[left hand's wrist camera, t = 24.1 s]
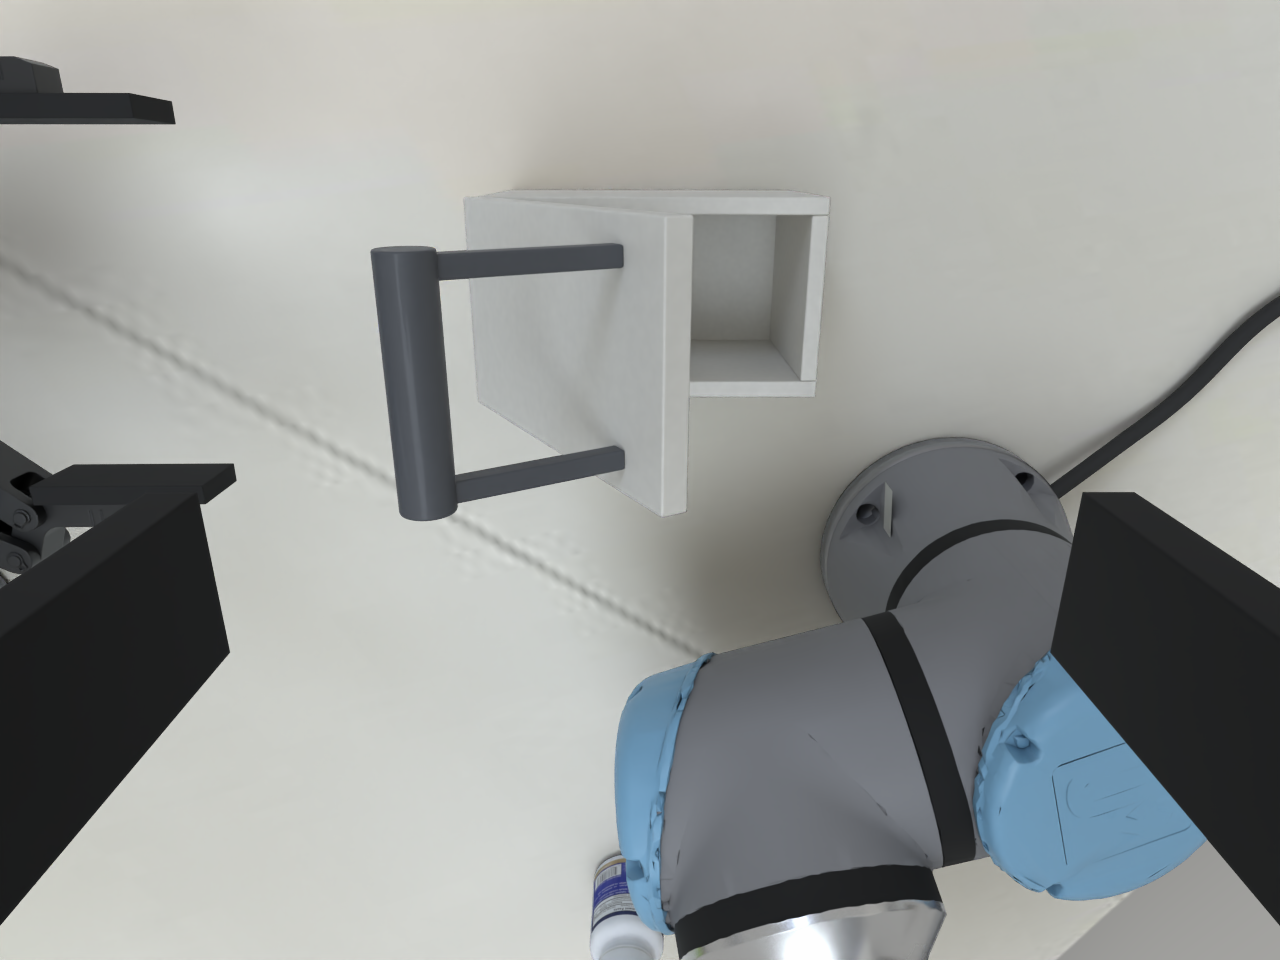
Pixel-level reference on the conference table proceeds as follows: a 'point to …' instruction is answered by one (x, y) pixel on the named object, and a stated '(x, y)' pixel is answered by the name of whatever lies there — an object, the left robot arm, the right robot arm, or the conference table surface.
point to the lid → (546, 350)
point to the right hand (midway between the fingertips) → (190, 309)
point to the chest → (741, 282)
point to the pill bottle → (619, 919)
